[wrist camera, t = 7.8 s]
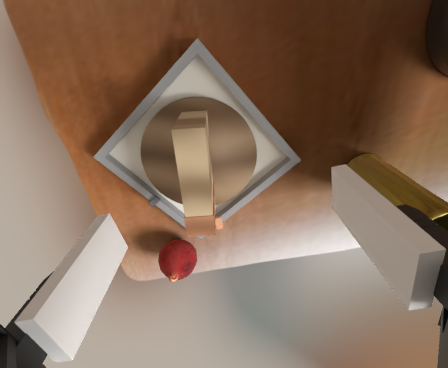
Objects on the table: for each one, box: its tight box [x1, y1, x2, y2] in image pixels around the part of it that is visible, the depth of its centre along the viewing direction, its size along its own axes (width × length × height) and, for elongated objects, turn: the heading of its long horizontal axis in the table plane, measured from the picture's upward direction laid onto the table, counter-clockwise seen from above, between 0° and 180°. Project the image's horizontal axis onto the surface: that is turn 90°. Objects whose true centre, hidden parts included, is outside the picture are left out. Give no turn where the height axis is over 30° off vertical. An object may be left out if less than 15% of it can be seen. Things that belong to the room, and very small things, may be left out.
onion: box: [158, 239, 197, 282], centre depth 37 cm, size 6×6×8 cm
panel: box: [93, 38, 301, 239], centre depth 32 cm, size 19×20×3 cm
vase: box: [347, 154, 448, 231], centre depth 30 cm, size 6×6×14 cm
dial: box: [141, 97, 257, 237], centre depth 28 cm, size 15×15×9 cm
